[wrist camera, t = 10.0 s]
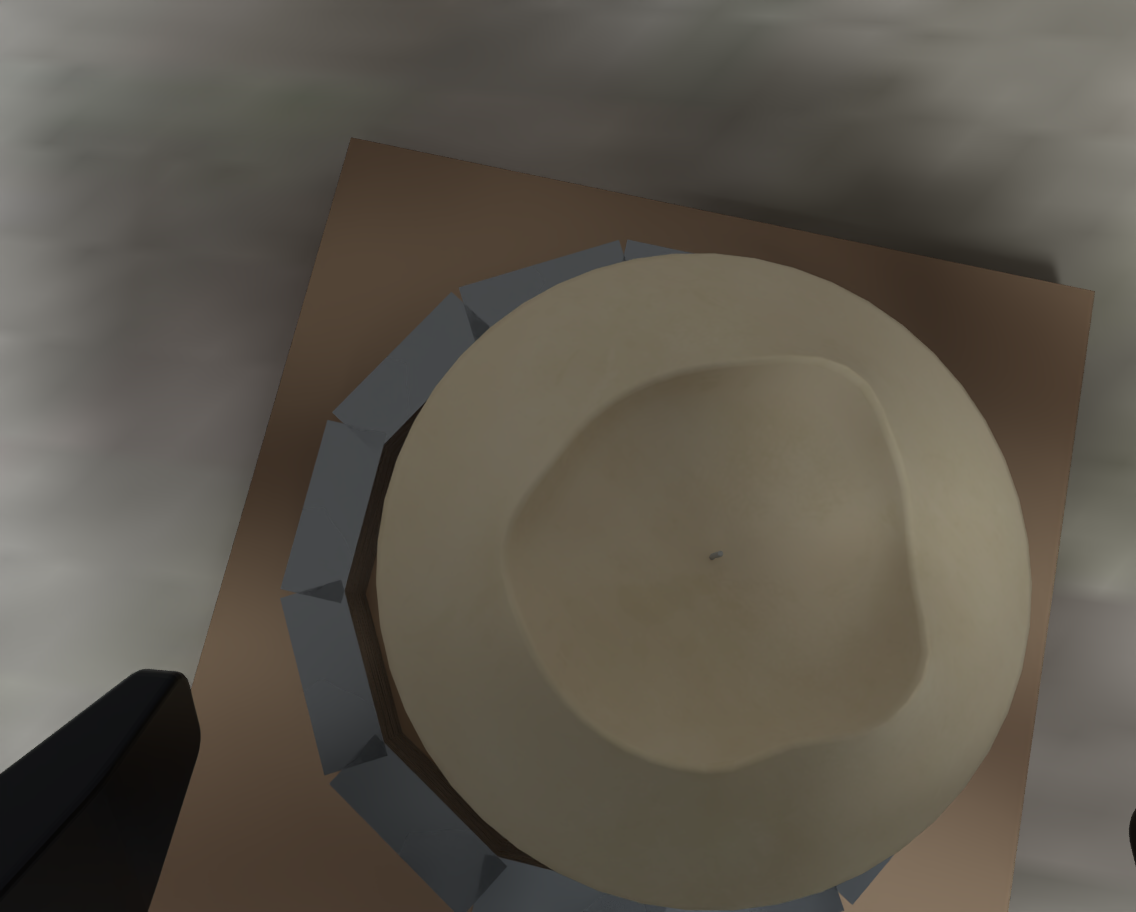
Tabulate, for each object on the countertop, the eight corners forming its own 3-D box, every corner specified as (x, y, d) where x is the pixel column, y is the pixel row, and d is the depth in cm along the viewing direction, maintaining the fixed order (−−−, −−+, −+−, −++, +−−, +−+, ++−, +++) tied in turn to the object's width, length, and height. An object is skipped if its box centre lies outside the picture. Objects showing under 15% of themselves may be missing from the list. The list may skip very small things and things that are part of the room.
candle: (623, 376, 17) (679, 35, 7) (867, 579, 16) (1296, 509, 7) (416, 609, 16) (162, 585, 7) (659, 832, 16) (789, 1181, 6)
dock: (953, 1093, 16) (1021, 1180, 13) (155, 890, 17) (79, 936, 14) (1067, 309, 18) (1142, 259, 16) (363, 162, 19) (330, 93, 16)
